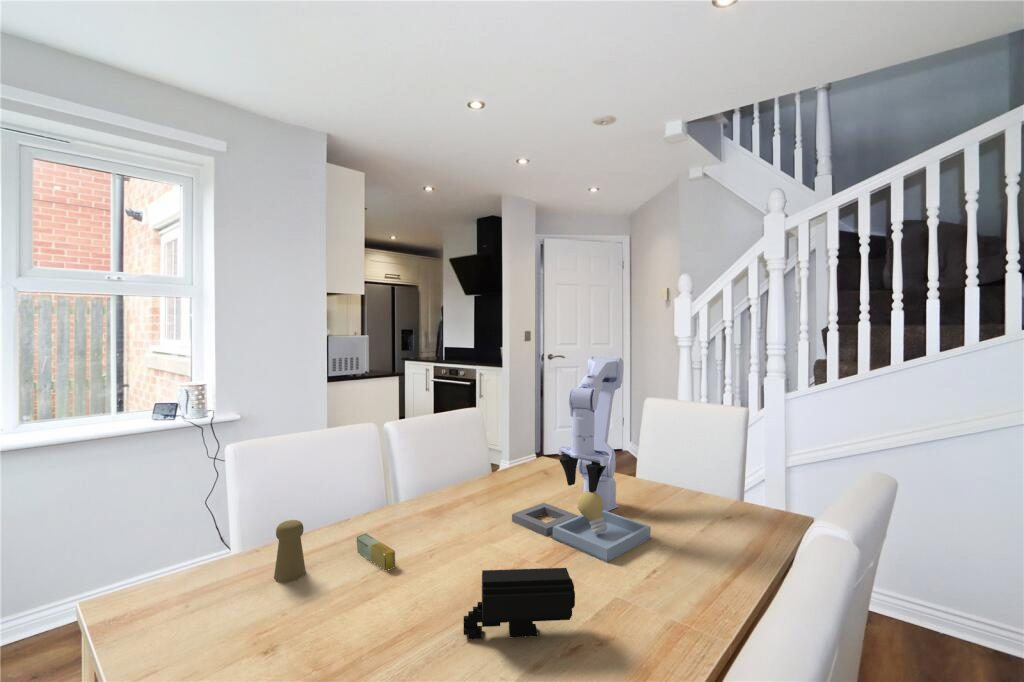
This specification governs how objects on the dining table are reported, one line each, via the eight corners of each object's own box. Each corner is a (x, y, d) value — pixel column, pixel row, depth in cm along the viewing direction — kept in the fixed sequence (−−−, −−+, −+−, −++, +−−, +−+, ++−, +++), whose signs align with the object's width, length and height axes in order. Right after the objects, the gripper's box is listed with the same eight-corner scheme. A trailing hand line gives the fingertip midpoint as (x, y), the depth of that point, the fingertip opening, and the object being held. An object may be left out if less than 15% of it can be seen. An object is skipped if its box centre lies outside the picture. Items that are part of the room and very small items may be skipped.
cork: (312, 570, 103) (312, 518, 103) (290, 584, 97) (290, 530, 97) (289, 565, 105) (289, 514, 105) (266, 579, 99) (266, 525, 99)
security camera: (463, 622, 86) (464, 566, 85) (568, 618, 87) (568, 563, 87) (463, 648, 79) (463, 587, 79) (576, 643, 80) (577, 583, 80)
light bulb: (614, 526, 122) (599, 487, 126) (611, 529, 116) (595, 487, 120) (591, 535, 123) (576, 496, 127) (587, 538, 117) (571, 496, 121)
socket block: (543, 509, 138) (543, 502, 138) (578, 522, 129) (578, 515, 129) (511, 521, 130) (512, 514, 130) (546, 536, 121) (546, 528, 121)
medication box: (356, 553, 111) (356, 536, 111) (367, 549, 113) (366, 532, 113) (385, 572, 103) (385, 554, 103) (396, 567, 105) (396, 549, 105)
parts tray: (597, 519, 132) (597, 508, 132) (650, 538, 120) (650, 526, 120) (552, 538, 119) (552, 526, 119) (606, 562, 108) (607, 549, 108)
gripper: (551, 432, 127) (550, 484, 127) (596, 442, 117) (595, 498, 117) (568, 428, 132) (567, 479, 132) (613, 438, 121) (612, 492, 122)
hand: (581, 488), depth 125 cm, fingers open, 6 cm apart
